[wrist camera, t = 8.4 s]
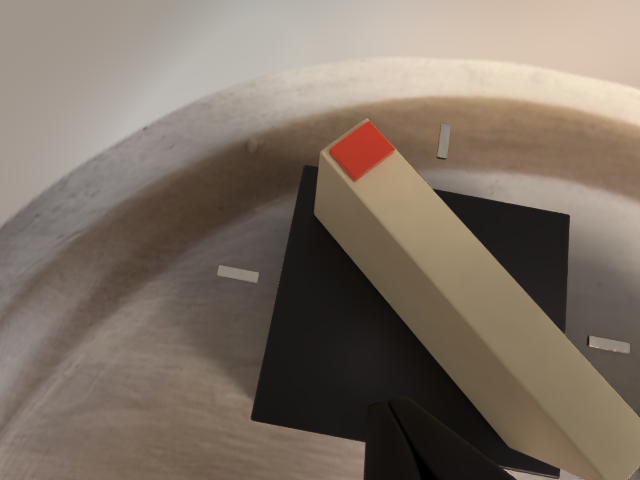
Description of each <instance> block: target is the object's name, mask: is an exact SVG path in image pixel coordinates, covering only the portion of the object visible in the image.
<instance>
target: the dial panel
mask: <svg viewBox="0 0 640 480" xmlns="http://www.w3.org/2000/svg"><path fill="white" fill-rule="evenodd" d="M450 129H451V125H446V124H441V126H440V134H439V142H438V150H437V158H438V159H443V160H446V159H447V154H448V145H449V137H450ZM318 169H319V167H315V166H310V165H304V167H303V171H302V176H301V181H300V186H299V190H298V195H297V200H296V205H295V209H294V214H293V219H292V224H291V228H290V233H289V238H288V243H287V247H286V252H285V257H284V262H283V266H282V271H281V276H280V281H279V285H278V290H277V295H276V300H275V304H274V309H273V314H272V319H271V323H270V328H269V333H268V338H267V342H266V347H265V352H264V357H263V361H262V366H261V371H260V376H259V380H258V385H257V390H256V395H255V399H254V404H253V409H252V414H251V420H252V421H256V422H261V423H267V424H272V425H277V426H282V427H288V428H293V429H298V430H303V431H308V432H314V433H319V434H324V435H329V436H335V437H340V438H345V439H350V440H355V441H361V442H366V429H367V413H368V406H369V405H370V404H373V403H377V402H381V401H386V402H387V403H388V401H389V400H390V399H394V398H398V397H402V396H406V397H408V398H410V399H411V400H412V401H414V402H415V403H416V404H418V405H419V406H420V407H422V408H423V409H424V410H426V411H427V412H428V413H430V414H431V415H432V416H433V417H435V418H436V419H437V420H439V421H440V422H441V423H443V424H444V425H445V426H447V427H448V428H449V429H451V430H452V431H453V432H455V433H456V434H457V435H459V436H460V437H461V438H463V439H464V440H465V441H466V442H468V443H469V444H470V445H472V446H473V447H474V448H476V449H477V450H478V451H480V452H481V453H482V454H484V455H485V456H486V457H488V458H489V459H490V460H492V461H493V462H494V463H495V464H497V465H498V466H499V467H501V468H502V469H507V470H512V471H517V472H523V473H528V474H533V475H538V476H543V477H549V478H554V479H559V477H560V469H559V468H557V467H555V466H552V465H550V464H548V463H545V462H543V461H540V460H538V459H536V458H533V457H531V456H529V455H526V454H524V453H522V452H519V451H517V450H515V449H512V448H510V447H508V445H507V444H506V443H505V442H504V441H503V439H502V438H501V437H500V436H499V435H498V433H497V432H496V431H495V430H494V429H493V427H492V426H491V425H490V424H489V423H488V421H487V420H486V419H485V418H484V417H483V415H482V414H481V413H480V412H479V411H478V410H477V408H476V407H475V406H474V405H473V404H472V402H471V401H470V400H469V399H468V398H467V396H466V395H465V394H464V393H463V392H462V390H461V389H460V388H459V387H458V386H457V384H456V383H455V382H454V381H453V380H452V378H451V377H450V376H449V375H448V374H447V372H446V371H445V370H444V369H443V368H442V366H441V365H440V364H439V363H438V362H437V361H436V359H435V358H434V357H433V356H432V355H431V353H430V352H429V351H428V350H427V349H426V347H425V346H424V345H423V344H422V343H421V341H420V340H419V339H418V338H417V337H416V335H415V334H414V333H413V332H412V331H411V329H410V328H409V327H408V326H407V325H406V323H405V322H404V321H403V320H402V319H401V317H400V316H399V315H398V314H397V313H396V312H395V310H394V309H393V308H392V307H391V306H390V304H389V303H388V302H387V301H386V300H385V298H384V297H383V296H382V295H381V294H380V292H379V291H378V290H377V289H376V288H375V286H374V285H373V284H372V283H371V282H370V280H369V279H368V278H367V277H366V276H365V274H364V273H363V272H362V271H361V270H360V268H359V267H358V266H357V265H356V264H355V262H354V261H353V260H352V259H351V258H350V257H349V255H348V254H347V253H346V252H345V251H344V249H343V248H342V247H341V246H340V245H339V243H338V242H337V241H336V240H335V239H334V237H333V236H332V235H331V234H330V233H329V231H328V230H327V229H326V228H325V227H324V225H323V224H322V223H321V222H320V221H319V219H318V218H317V217H316V216H315V215H314V207H315V198H316V188H317V178H318ZM432 190H433V191H434V192H435V193H436V194H437V195H438V196H439V197H440V198H441V199H442V201H443V202H444V203H445V204H446V205H447V206H448V207H449V208H450V209H451V210H452V212H453V213H454V214H455V215H456V216H457V217H458V218H459V219H460V220H461V221H462V223H463V224H464V225H465V226H466V227H467V228H468V229H469V230H470V231H471V232H472V234H473V235H474V236H475V237H476V238H477V239H478V240H479V241H480V242H481V243H482V245H483V246H484V247H485V248H486V249H487V250H488V251H489V252H490V253H491V254H492V256H493V257H494V258H495V259H496V260H497V261H498V262H499V263H500V264H501V265H502V267H503V268H504V269H505V270H506V271H507V272H508V273H509V274H510V275H511V276H512V278H513V279H514V280H515V281H516V282H517V283H518V284H519V285H520V286H521V287H522V289H523V290H524V291H525V292H526V293H527V294H528V295H529V296H530V297H531V298H532V300H533V301H534V302H535V303H536V304H537V305H538V306H539V307H540V308H541V310H542V311H543V312H544V313H545V314H546V315H547V316H548V317H549V318H550V319H551V321H552V322H553V323H554V324H555V325H556V326H557V327H558V328H559V329H560V330H561V332H562V333H563V334H564V335H565V326H566V301H567V275H568V250H569V224H570V216H569V215H568V214H563V213H557V212H552V211H547V210H542V209H536V208H531V207H526V206H520V205H515V204H510V203H505V202H499V201H494V200H489V199H484V198H478V197H473V196H468V195H462V194H457V193H452V192H447V191H441V190H436V189H432ZM259 275H260V273H259V272H254V271H248V270H243V269H238V268H233V267H227V266H222V265H219V268H218V272H217V276H221V277H226V278H231V279H237V280H242V281H247V282H252V283H258V280H259ZM587 346H588V347H594V348H599V349H604V350H609V351H615V352H620V353H625V354H630V343H626V342H621V341H616V340H611V339H605V338H600V337H595V336H587Z"/></svg>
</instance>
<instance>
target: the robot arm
mask: <svg viewBox="0 0 640 480" xmlns="http://www.w3.org/2000/svg"><path fill="white" fill-rule="evenodd" d="M363 480H517V479H515V478H514V477H513V476H511V475H510V474H509V473H507V472H506V471H505V470H503V469H502V468H501V467H499V466H498V465H497V464H495V463H494V462H493V461H492V460H490V459H489V458H488V457H486V456H485V455H484V454H482V453H481V452H480V451H478V450H477V449H476V448H474V447H473V446H472V445H470V444H469V443H468V442H466V441H465V440H464V439H463V438H461V437H460V436H459V435H457V434H456V433H455V432H453V431H452V430H451V429H449V428H448V427H447V426H445V425H444V424H443V423H441V422H440V421H439V420H437V419H436V418H435V417H433V416H432V415H431V414H430V413H428V412H427V411H426V410H424V409H423V408H422V407H420V406H419V405H418V404H416V403H415V402H414V401H412V400H411V399H410V398H408V397H406V396H402V397H398V398H394V399H390V400H389V401H388V403H387V402H386V401H381V402H377V403H373V404H370V405H369V406H368V413H367V429H366V446H365V462H364V479H363Z"/></svg>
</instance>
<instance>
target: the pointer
mask: <svg viewBox="0 0 640 480" xmlns="http://www.w3.org/2000/svg"><path fill="white" fill-rule="evenodd" d="M314 215H315V216H316V217H317V218H318V219H319V221H320V222H321V223H322V224H323V225H324V227H325V228H326V229H327V230H328V231H329V233H330V234H331V235H332V236H333V237H334V239H335V240H336V241H337V242H338V243H339V245H340V246H341V247H342V248H343V249H344V251H345V252H346V253H347V254H348V255H349V257H350V258H351V259H352V260H353V261H354V262H355V264H356V265H357V266H358V267H359V268H360V270H361V271H362V272H363V273H364V274H365V276H366V277H367V278H368V279H369V280H370V282H371V283H372V284H373V285H374V286H375V288H376V289H377V290H378V291H379V292H380V294H381V295H382V296H383V297H384V298H385V300H386V301H387V302H388V303H389V304H390V306H391V307H392V308H393V309H394V310H395V312H396V313H397V314H398V315H399V316H400V317H401V319H402V320H403V321H404V322H405V323H406V325H407V326H408V327H409V328H410V329H411V331H412V332H413V333H414V334H415V335H416V337H417V338H418V339H419V340H420V341H421V343H422V344H423V345H424V346H425V347H426V349H427V350H428V351H429V352H430V353H431V355H432V356H433V357H434V358H435V359H436V361H437V362H438V363H439V364H440V365H441V366H442V368H443V369H444V370H445V371H446V372H447V374H448V375H449V376H450V377H451V378H452V380H453V381H454V382H455V383H456V384H457V386H458V387H459V388H460V389H461V390H462V392H463V393H464V394H465V395H466V396H467V398H468V399H469V400H470V401H471V402H472V404H473V405H474V406H475V407H476V408H477V410H478V411H479V412H480V413H481V414H482V415H483V417H484V418H485V419H486V420H487V421H488V423H489V424H490V425H491V426H492V427H493V429H494V430H495V431H496V432H497V433H498V435H499V436H500V437H501V438H502V439H503V441H504V442H505V443H506V444H507V445H508V447H510V448H512V449H515V450H517V451H519V452H522V453H524V454H526V455H529V456H531V457H533V458H536V459H538V460H540V461H543V462H545V463H548V464H550V465H552V466H555V467H557V468H559V469H562V470H564V471H566V472H569V473H571V474H573V475H576V476H578V477H580V478H583V479H585V480H628V479H629V478H630V477H631V476H632V475H633V474H634V473H635V472H636V471H637V469H638V468H639V467H640V417H639V416H638V415H637V414H636V413H635V412H634V411H633V410H632V409H631V407H630V406H629V405H628V404H627V403H626V402H625V401H624V400H623V399H622V398H621V396H620V395H619V394H618V393H617V392H616V391H615V390H614V389H613V388H612V387H611V385H610V384H609V383H608V382H607V381H606V380H605V379H604V378H603V377H602V376H601V374H600V373H599V372H598V371H597V370H596V369H595V368H594V367H593V366H592V365H591V363H590V362H589V361H588V360H587V359H586V358H585V357H584V356H583V355H582V354H581V352H580V351H579V350H578V349H577V348H576V347H575V346H574V345H573V344H572V343H571V341H570V340H569V339H568V338H567V337H566V336H565V335H564V334H563V333H562V332H561V330H560V329H559V328H558V327H557V326H556V325H555V324H554V323H553V322H552V321H551V319H550V318H549V317H548V316H547V315H546V314H545V313H544V312H543V311H542V310H541V308H540V307H539V306H538V305H537V304H536V303H535V302H534V301H533V300H532V298H531V297H530V296H529V295H528V294H527V293H526V292H525V291H524V290H523V289H522V287H521V286H520V285H519V284H518V283H517V282H516V281H515V280H514V279H513V278H512V276H511V275H510V274H509V273H508V272H507V271H506V270H505V269H504V268H503V267H502V265H501V264H500V263H499V262H498V261H497V260H496V259H495V258H494V257H493V256H492V254H491V253H490V252H489V251H488V250H487V249H486V248H485V247H484V246H483V245H482V243H481V242H480V241H479V240H478V239H477V238H476V237H475V236H474V235H473V234H472V232H471V231H470V230H469V229H468V228H467V227H466V226H465V225H464V224H463V223H462V221H461V220H460V219H459V218H458V217H457V216H456V215H455V214H454V213H453V212H452V210H451V209H450V208H449V207H448V206H447V205H446V204H445V203H444V202H443V201H442V199H441V198H440V197H439V196H438V195H437V194H436V193H435V192H434V191H433V190H432V188H431V187H430V186H429V185H428V184H427V183H426V182H425V181H424V180H423V179H422V177H421V176H420V175H419V174H418V173H417V172H416V171H415V170H414V169H413V168H412V166H411V165H410V164H409V163H408V162H407V161H406V160H405V159H404V158H403V156H402V155H401V154H400V153H399V152H398V151H397V150H396V149H395V148H394V147H393V145H392V144H391V143H390V142H389V141H388V140H387V139H386V138H385V137H384V136H383V134H382V133H381V132H380V131H379V130H378V129H377V128H376V127H375V126H374V125H373V123H372V122H371V121H370V120H369V119H364V120H363V121H362V122H360V123H359V124H357V125H356V126H355V127H353V128H352V129H350V130H349V131H348V132H346V133H345V134H344V135H342V136H341V137H339V138H338V139H337V140H335V141H334V142H332V143H331V144H330V145H328V146H327V147H326V148H324V149H323V150H321V152H320V159H319V169H318V178H317V188H316V198H315V207H314Z"/></svg>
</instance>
